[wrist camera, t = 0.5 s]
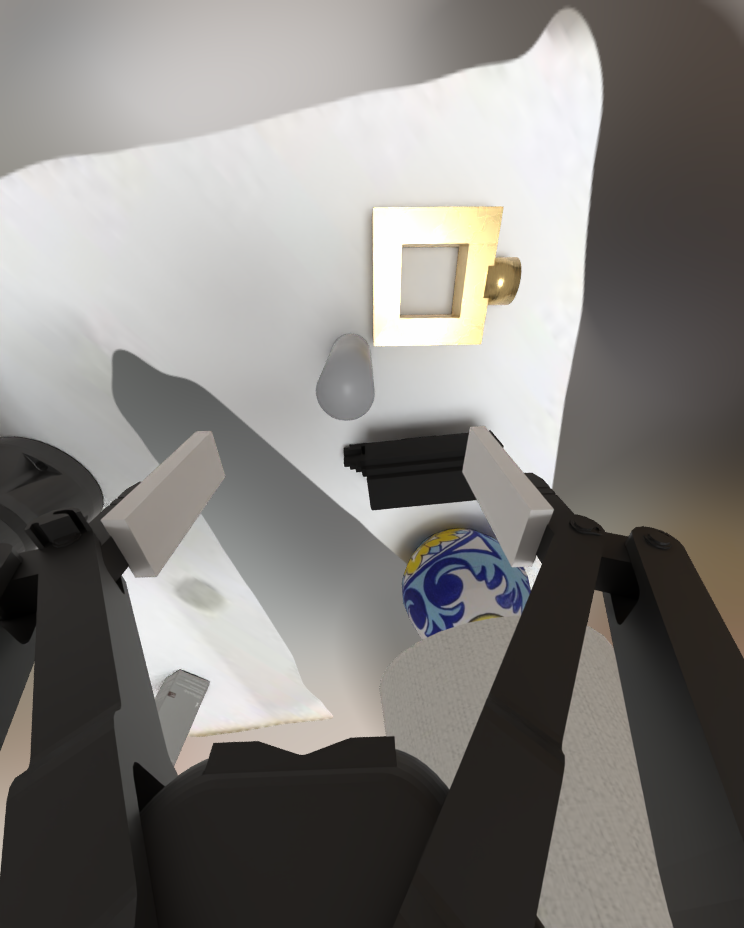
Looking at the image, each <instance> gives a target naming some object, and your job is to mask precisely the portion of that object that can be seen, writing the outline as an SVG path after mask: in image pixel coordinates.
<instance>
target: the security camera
mask: <svg viewBox="0 0 744 928" xmlns="http://www.w3.org/2000/svg"><path fill="white" fill-rule="evenodd" d="M489 432H490V433H491V434H492V435H493V437H494V438H495V439H496V440H497V441H498V443H499V444H500V445H501V446H502V447H503V445H502V443H501V442H500V441H499V440H498V439H497V437H496V436H495V435H494V434H493V433H492V432H491V430H489ZM468 436H469V433H461V434H451V435H442V436H428V437H419V438H409V439H401V440H394V441H385V442H375V443H362V444H352V445H350V447H349V448H344V450H343V451H344V466H345V467H350V470H352V469H356V472H362V475H363V477H367V483H368V491H369V498H370V505H371V510H381V509H391V508H401V507H411V506H422V505H432V504H442V503H452V502H462V501H473V500H477V499H476V497H475V495H474V493H473V492H472V490H471V488H470V486H469V484H468V482H467V480H466V478H465V476H464V474H463V472H462V471H463V465H464V459H465V453H466V448H467V442H468Z"/></svg>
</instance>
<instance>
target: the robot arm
mask: <svg viewBox="0 0 744 928" xmlns="http://www.w3.org/2000/svg"><path fill="white" fill-rule="evenodd" d="M462 472H463V474H464V476H465V478H466V480H467V482H468V484H469V486H470V488H471V490H472V492H473V493H474V495H475V497H476V499H477V501H478V503H479V505H480V507H481V509H482V511H483V513H484V515H485V517H486V519H487V520H488V522H489V524H490V526H491V528H492V530H493V532H494V534H495V536H496V538H497V540H498V542H499V544H500V546H501V547H502V549H503V551H504V553H505V555H506V557H507V559H508V561H509V563H510V565H511V567H532V566H533V563H534V560H535V558H536V555H537V557H538V558H539V560H540V561H541V563H542V565H541V568H540V570H539V573H538V575H537V578H536V580H535V583H534V585H533V587H532V590H531V592H530V595H529V597H528V600H527V602H526V604H525V607H524V609H523V612H522V614H521V617H520V619H519V622H518V624H517V626H516V629H515V631H514V634H513V636H512V639H511V641H510V643H509V646H508V648H507V651H506V653H505V656H504V658H503V661H502V663H501V665H500V668H499V670H498V673H497V675H496V678H495V680H494V682H493V685H492V687H491V690H490V692H489V695H488V697H487V699H486V702H485V704H484V707H483V709H482V712H481V714H480V716H479V719H478V721H477V724H476V726H475V729H474V731H473V734H472V736H471V738H470V741H469V743H468V746H467V748H466V751H465V753H464V755H463V758H462V760H461V763H460V765H459V768H458V770H457V773H456V775H455V777H454V780H453V782H452V785H451V787H450V789H449V788H448V787H447V785H446V784H445V783H444V782H443V781H442V780H441V779H440V777H439V776H438V775H437V774H436V773H435V772H434V771H433V770H432V769H430V768H429V767H428V766H427V765H426V764H425V763H423V762H422V761H420V760H419V759H417V758H416V757H414V756H412V755H410V754H408V753H406V752H404V751H401V750H398V749H395V736H384V737H357V738H349V739H346V740H343V741H341V742H338V743H335V744H333V745H330V746H328V747H325V748H322V749H320V750H317V751H314V752H312V753H309V754H306V755H299V754H295V753H292V752H289V751H286V750H283V749H280V748H277V747H274V746H271V745H268V744H265V743H262V742H259V741H253V742H227V743H213V746H212V749H211V753H210V756H209V759H206V760H204V761H202V762H200V763H198V764H196V765H194V766H192V767H190V768H189V769H187V770H186V771H184V772H183V773H181V774H180V775H177V772H176V770H175V768H174V766H173V764H172V762H171V760H170V757H169V755H168V751H167V747H166V743H165V739H164V735H163V731H162V727H161V723H160V719H159V715H158V711H157V707H156V703H155V699H154V695H153V691H152V687H151V683H150V679H149V675H148V670H147V666H146V662H145V658H144V654H143V650H142V646H141V642H140V638H139V634H138V630H137V626H136V622H135V618H134V614H133V610H132V606H131V602H130V597H129V593H128V589H127V585H126V582H125V580H124V578H123V577H122V574H123V573H124V571H125V570H126V569H127V568H128V566H129V568H130V569H131V571H132V573H133V574H134V576H135V578H136V577H157V576H158V574H159V573H160V571H161V570H162V568H163V567H164V566H165V564H166V563H167V561H168V560H169V558H170V557H171V555H172V554H173V552H174V551H175V550H176V548H177V547H178V545H179V544H180V542H181V541H182V539H183V538H184V536H185V535H186V534H187V532H188V531H189V529H190V528H191V526H192V525H193V523H194V522H195V520H196V519H197V518H198V516H199V515H200V513H201V512H202V510H203V509H204V507H205V506H206V504H207V503H208V501H209V500H210V499H211V497H212V496H213V494H214V493H215V491H216V490H217V488H218V487H219V486H220V484H221V483H222V481H223V480H224V478H225V473H224V470H223V467H222V464H221V460H220V457H219V453H218V450H217V447H216V444H215V441H214V437H213V434H212V431H196V432H195V433H194V434H193V435H192V436H191V437H190V438H189V439H188V440H187V441H185V442H184V443H183V444H182V445H181V446H180V447H179V448H178V449H177V450H176V451H175V452H174V453H172V454H171V455H170V456H169V457H168V458H167V459H166V460H165V461H164V462H163V463H162V464H161V465H159V466H158V467H157V468H156V469H155V470H154V471H153V472H152V473H151V474H150V475H149V476H148V477H146V478H145V479H144V480H143V481H142V482H138V483H137V484H135V485H133V486H131V487H129V488H128V489H126V490H125V491H124V492H123V493H122V494H121V495H120V496H118V499H115V500H114V501H113V502H112V503H111V504H110V506H107V507H106V508H105V509H104V510H103V511H102V512H101V510H102V506H103V498H102V494H101V491H100V488H99V486H98V484H97V483H96V481H95V480H94V478H93V477H92V476H91V475H90V473H89V472H88V471H87V470H86V469H85V468H84V467H83V466H82V465H80V464H79V463H78V462H77V461H75V460H74V459H73V458H71V457H70V456H68V455H67V454H65V453H63V452H61V451H60V450H58V449H56V448H54V447H51V446H49V445H47V444H44V443H41V442H38V441H35V440H31V439H26V438H19V437H3V438H0V750H1V748H2V745H3V742H4V740H5V737H6V735H7V732H8V729H9V727H10V724H11V722H12V719H13V716H14V714H15V711H16V708H17V706H18V703H19V701H20V698H21V695H22V693H23V690H24V688H25V685H26V682H27V680H28V677H29V674H30V672H31V669H32V666H33V664H34V661H35V666H34V689H33V711H32V733H31V735H32V736H31V757H30V764H29V768H28V769H27V771H25V772H24V773H22V774H21V775H19V776H17V777H16V778H15V779H14V781H13V782H12V784H11V786H10V788H9V793H8V797H7V803H6V814H5V827H4V839H3V849H2V861H1V872H0V928H545V927H544V925H543V924H542V922H541V921H540V919H539V918H538V917H537V910H538V905H539V900H540V895H541V890H542V885H543V879H544V874H545V869H546V864H547V859H548V853H549V848H550V843H551V838H552V833H553V828H554V822H555V817H556V812H557V807H558V802H559V797H560V791H561V786H562V781H563V775H564V768H565V755H564V753H563V751H562V743H563V737H564V732H565V727H566V723H567V718H568V713H569V708H570V703H571V699H572V694H573V689H574V684H575V680H576V675H577V670H578V665H579V661H580V656H581V651H582V646H583V642H584V637H585V632H586V627H587V622H588V617H589V613H590V608H591V603H592V599H593V594H594V590H598V591H602V592H603V597H604V602H605V607H606V612H607V617H608V622H609V627H610V632H611V637H612V642H613V647H614V652H615V657H616V662H617V667H618V672H619V677H620V682H621V687H622V692H623V697H624V702H625V707H626V712H627V717H628V722H629V727H630V732H631V737H632V742H633V746H634V751H635V756H636V761H637V766H638V771H639V776H640V781H641V786H642V791H643V796H644V801H645V806H646V811H647V816H648V821H649V826H650V831H651V836H652V841H653V846H654V851H655V856H656V861H657V866H658V871H659V875H660V879H661V883H662V887H663V891H664V895H665V899H666V903H667V908H668V912H669V915H670V918H671V922H672V925H673V928H744V658H743V656H742V655H741V653H740V651H739V649H738V647H737V645H736V643H735V641H734V640H733V638H732V636H731V634H730V632H729V630H728V628H727V627H726V625H725V623H724V621H723V619H722V617H721V615H720V613H719V612H718V610H717V608H716V606H715V604H714V602H713V600H712V598H711V597H710V595H709V593H708V591H707V589H706V587H705V586H704V584H703V582H702V580H701V578H700V576H699V574H698V573H697V571H696V569H695V567H694V565H693V563H692V561H691V559H690V558H689V556H688V554H687V552H686V550H685V548H684V547H683V545H682V544H681V543H680V542H679V541H678V540H677V539H675V538H674V537H672V536H671V535H669V534H668V533H665V532H663V531H661V530H658V529H654V528H650V527H644V526H642V527H636V528H634V529H633V530H632V531H631V533H630V535H629V537H628V536H623V535H618V534H612V533H607V532H605V530H604V529H603V528H602V527H601V525H599V524H598V523H597V522H595V521H594V520H591V519H589V518H587V517H585V516H581V515H575V514H574V513H573V512H572V511H571V510H570V509H569V508H568V507H567V506H566V504H565V503H564V502H563V501H562V500H561V499H560V498H559V497H558V496H557V495H555V492H554V491H553V490H552V489H550V487H549V486H548V484H547V483H546V482H545V481H544V480H543V479H542V478H540V477H538V476H537V475H535V474H533V473H523V472H522V470H521V469H520V468H519V467H518V466H517V464H516V463H515V462H514V461H513V460H512V458H511V457H510V456H509V455H508V454H507V452H506V451H505V450H504V449H503V447H502V446H501V445H500V444H499V443H498V441H497V440H496V439H495V438H494V437H493V435H492V434H491V433H490V432H489V431H488V429H487V428H486V427H485V426H477V427H470V430H469V436H468V442H467V448H466V453H465V459H464V465H463V471H462ZM100 512H101V513H100Z"/></svg>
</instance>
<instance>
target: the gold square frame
mask: <svg viewBox="0 0 744 928" xmlns="http://www.w3.org/2000/svg"><path fill="white" fill-rule="evenodd" d="M502 213H503V207H382V208H373V213H372V251H373V342H374V346H402V345H469V344H481V341H482V335H483V329H484V323H485V316H486V310H487V305H508V304H510V303H511V302H512V301H513V299H514V298H515V296H516V293H517V291H518V288H519V284H520V279H521V263H520V260H519V258H517V257H495V256H496V249H497V243H498V237H499V231H500V225H501V219H502ZM402 247H459V251H458V260H457V269H456V278H455V287H454V296H453V305H452V314H439V315H400V284H401V254H402Z"/></svg>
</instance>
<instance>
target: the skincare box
mask: <svg viewBox="0 0 744 928" xmlns="http://www.w3.org/2000/svg"><path fill="white" fill-rule="evenodd" d="M208 686H209V681H207V680H204V679H201V678H199V677H196V676H194V675H191V674H189V673H186V672H183V671H181V670H179V671H177V672H175V673H174V674H172V675H170V676H169V677H167V678H166V679H165V681H164V683H163V685H162V686H161V688H160V690H159V692H158V694H157V696H156V698H155V703H156V707H157V711H158V715H159V719H160V723H161V727H162V731H163V735H164V739H165V743H166V747H167V751H168V755H169V757H170V760H171V762H172V764H173V766H174V765H175V763H176V760H177V758H178V756H179V754H180V751H181V749H182V746H183V744H184V742H185V740H186V737H187V735H188V733H189V730H190V728H191V726H192V723H193V721H194V719H195V717H196V714H197V712H198V710H199V707H200V705H201V703H202V700H203V698H204V696H205V693H206V691H207V689H208Z"/></svg>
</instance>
